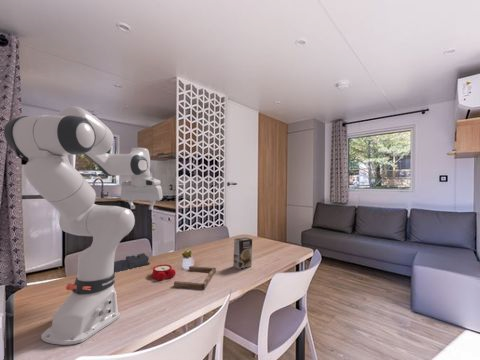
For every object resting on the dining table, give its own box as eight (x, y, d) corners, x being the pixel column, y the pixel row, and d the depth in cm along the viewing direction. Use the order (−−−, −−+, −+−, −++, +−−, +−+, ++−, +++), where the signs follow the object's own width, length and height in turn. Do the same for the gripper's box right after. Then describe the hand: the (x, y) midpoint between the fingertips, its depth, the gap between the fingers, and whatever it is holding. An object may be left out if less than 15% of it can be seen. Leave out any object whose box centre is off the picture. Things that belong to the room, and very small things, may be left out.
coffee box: (239, 269, 132) (240, 240, 132) (232, 266, 137) (233, 238, 137) (252, 266, 137) (252, 239, 137) (245, 263, 142) (246, 236, 143)
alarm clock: (167, 263, 129) (179, 264, 118) (167, 274, 128) (180, 277, 117) (148, 266, 123) (158, 268, 112) (148, 279, 121) (159, 282, 110)
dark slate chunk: (102, 266, 132) (103, 258, 132) (141, 258, 148) (141, 251, 148) (112, 274, 121) (112, 265, 121) (153, 264, 137) (153, 256, 137)
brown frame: (204, 289, 106) (204, 285, 106) (173, 286, 108) (173, 282, 108) (215, 271, 128) (215, 267, 128) (189, 269, 130) (190, 266, 130)
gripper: (117, 181, 112) (118, 209, 113) (157, 182, 109) (158, 211, 110) (125, 180, 118) (126, 207, 119) (163, 180, 115) (164, 208, 117)
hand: (142, 209), depth 115 cm, fingers open, 8 cm apart
